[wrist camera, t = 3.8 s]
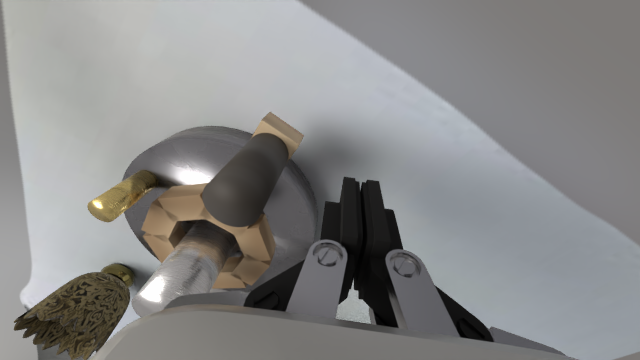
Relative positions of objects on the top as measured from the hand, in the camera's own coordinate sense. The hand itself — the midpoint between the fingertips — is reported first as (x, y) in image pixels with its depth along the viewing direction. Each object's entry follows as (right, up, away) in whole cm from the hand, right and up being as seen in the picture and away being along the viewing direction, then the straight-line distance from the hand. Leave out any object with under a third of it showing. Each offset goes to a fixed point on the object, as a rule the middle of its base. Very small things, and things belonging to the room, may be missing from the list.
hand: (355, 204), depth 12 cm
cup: (-26, -10, +18) cm, 33 cm away
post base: (-10, -2, +11) cm, 15 cm away
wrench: (-8, -1, +6) cm, 11 cm away
